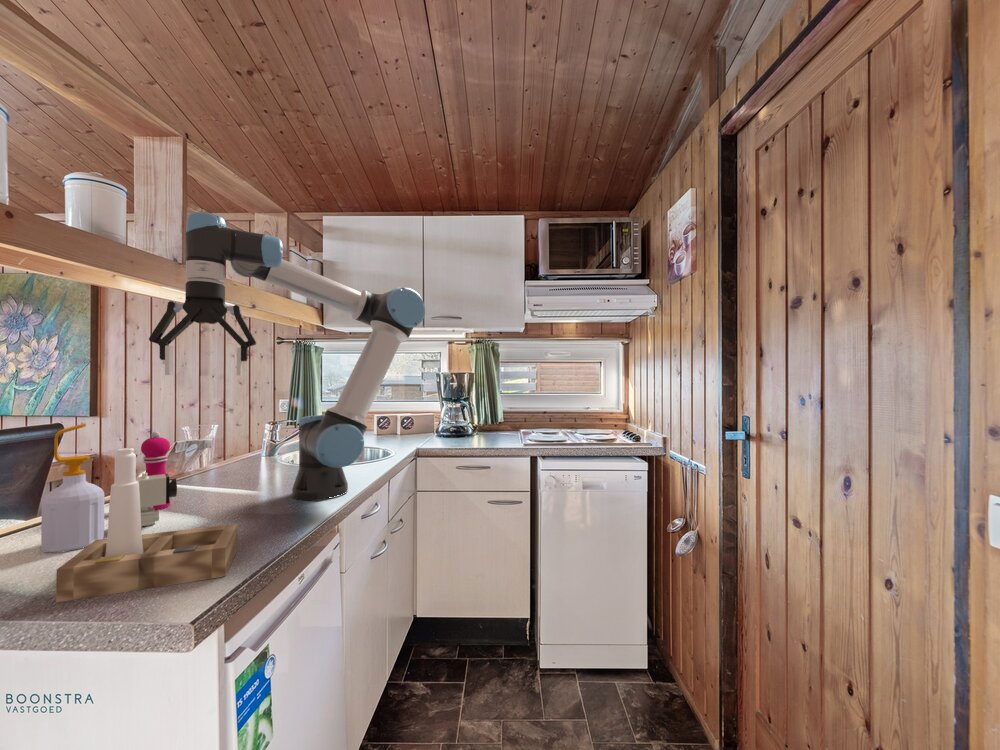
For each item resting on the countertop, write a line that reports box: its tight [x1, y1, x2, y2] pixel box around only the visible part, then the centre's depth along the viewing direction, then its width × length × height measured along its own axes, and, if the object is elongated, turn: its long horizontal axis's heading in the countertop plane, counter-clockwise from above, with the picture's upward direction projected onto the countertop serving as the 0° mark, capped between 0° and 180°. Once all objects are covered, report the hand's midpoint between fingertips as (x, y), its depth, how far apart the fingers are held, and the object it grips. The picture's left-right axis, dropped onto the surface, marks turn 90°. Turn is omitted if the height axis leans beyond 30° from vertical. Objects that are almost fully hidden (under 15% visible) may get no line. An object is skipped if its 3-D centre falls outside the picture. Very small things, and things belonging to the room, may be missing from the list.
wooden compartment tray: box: [55, 523, 239, 603], centre depth 76 cm, size 22×13×5 cm, turn 114°
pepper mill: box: [140, 430, 171, 511], centre depth 113 cm, size 7×7×20 cm
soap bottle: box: [40, 423, 105, 553], centre depth 88 cm, size 9×9×25 cm
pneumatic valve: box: [109, 472, 178, 528], centre depth 100 cm, size 6×12×12 cm, turn 131°
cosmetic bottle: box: [105, 447, 144, 557], centre depth 74 cm, size 6×6×22 cm
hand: (205, 375), depth 99 cm, fingers open, 13 cm apart
